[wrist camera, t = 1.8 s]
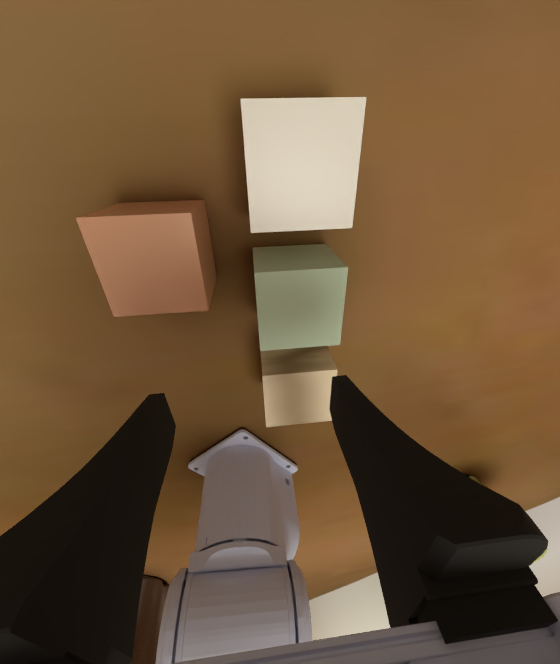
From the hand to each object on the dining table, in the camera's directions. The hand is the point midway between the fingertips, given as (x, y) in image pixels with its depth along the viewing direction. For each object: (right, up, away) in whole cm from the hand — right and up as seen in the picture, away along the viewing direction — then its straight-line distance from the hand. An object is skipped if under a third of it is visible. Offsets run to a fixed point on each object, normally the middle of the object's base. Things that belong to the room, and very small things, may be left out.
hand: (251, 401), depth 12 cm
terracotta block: (-6, +9, +6) cm, 12 cm away
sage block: (+2, +7, +8) cm, 11 cm away
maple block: (+2, +1, +12) cm, 12 cm away
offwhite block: (+2, +13, +4) cm, 14 cm away
